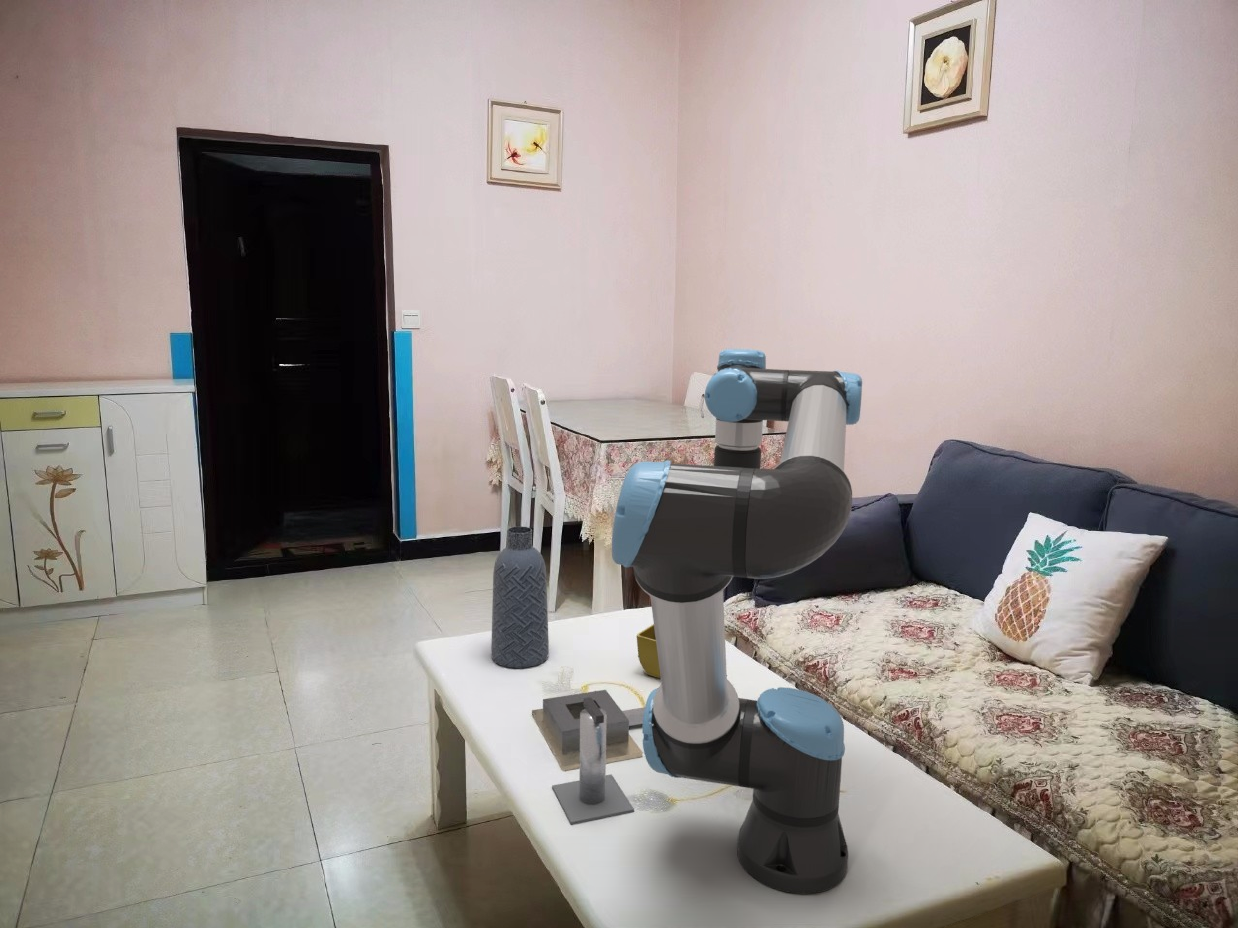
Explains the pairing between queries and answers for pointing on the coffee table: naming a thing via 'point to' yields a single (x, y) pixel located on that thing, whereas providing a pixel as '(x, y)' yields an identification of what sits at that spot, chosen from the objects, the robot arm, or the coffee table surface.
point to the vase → (519, 603)
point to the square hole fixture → (564, 727)
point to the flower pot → (648, 651)
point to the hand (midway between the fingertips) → (731, 571)
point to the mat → (584, 812)
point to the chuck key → (592, 753)
